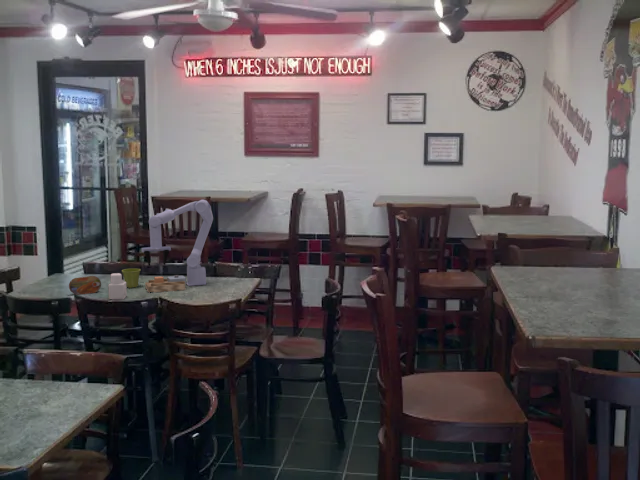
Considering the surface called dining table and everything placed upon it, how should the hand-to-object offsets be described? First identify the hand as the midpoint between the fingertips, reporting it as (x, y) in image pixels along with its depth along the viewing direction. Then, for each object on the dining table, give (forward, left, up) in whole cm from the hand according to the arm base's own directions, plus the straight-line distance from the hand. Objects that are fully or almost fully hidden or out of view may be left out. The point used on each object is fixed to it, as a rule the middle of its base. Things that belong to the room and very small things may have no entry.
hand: (156, 265), depth 365 cm
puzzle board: (-2, +13, -10) cm, 17 cm away
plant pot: (+13, 0, -11) cm, 17 cm away
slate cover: (-8, +13, -7) cm, 17 cm away
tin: (+36, +8, -11) cm, 38 cm away
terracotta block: (+1, +13, -10) cm, 17 cm away
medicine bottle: (+22, +25, -11) cm, 35 cm away
